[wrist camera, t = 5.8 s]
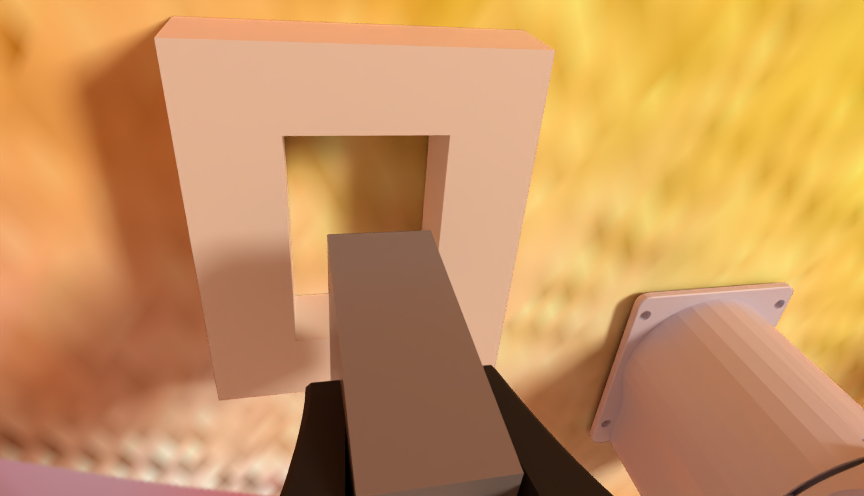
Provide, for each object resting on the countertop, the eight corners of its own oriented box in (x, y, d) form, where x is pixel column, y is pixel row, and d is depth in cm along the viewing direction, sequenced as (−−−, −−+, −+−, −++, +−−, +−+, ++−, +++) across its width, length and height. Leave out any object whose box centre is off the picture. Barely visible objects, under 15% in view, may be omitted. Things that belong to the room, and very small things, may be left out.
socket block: (476, 329, 24) (494, 372, 22) (225, 350, 21) (218, 400, 19) (523, 30, 17) (555, 50, 15) (172, 16, 15) (154, 37, 13)
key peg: (430, 229, 14) (528, 484, 9) (416, 372, 17) (481, 633, 11) (327, 234, 14) (357, 510, 8) (330, 380, 17) (354, 659, 11)
